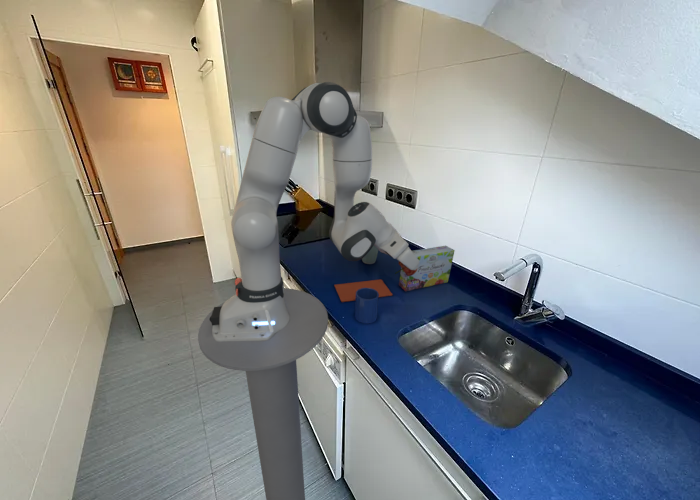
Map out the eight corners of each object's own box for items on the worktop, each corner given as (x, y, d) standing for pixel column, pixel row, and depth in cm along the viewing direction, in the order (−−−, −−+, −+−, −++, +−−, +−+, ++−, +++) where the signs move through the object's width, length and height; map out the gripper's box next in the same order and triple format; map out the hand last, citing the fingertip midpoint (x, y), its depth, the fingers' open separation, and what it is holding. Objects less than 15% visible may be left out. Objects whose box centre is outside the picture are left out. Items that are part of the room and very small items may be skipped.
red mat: (341, 302, 103) (341, 301, 103) (334, 285, 113) (334, 284, 113) (392, 295, 108) (392, 294, 108) (381, 280, 119) (381, 279, 118)
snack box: (406, 292, 110) (410, 257, 104) (398, 285, 115) (402, 251, 109) (448, 282, 118) (455, 249, 112) (439, 276, 123) (445, 244, 117)
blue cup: (358, 325, 91) (359, 301, 88) (352, 311, 98) (353, 289, 94) (380, 321, 93) (382, 298, 90) (372, 308, 100) (374, 286, 96)
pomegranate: (400, 285, 100) (425, 271, 97) (389, 268, 98) (414, 253, 96) (399, 277, 107) (423, 264, 104) (389, 261, 106) (413, 247, 103)
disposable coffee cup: (363, 254, 141) (365, 226, 135) (384, 259, 137) (386, 230, 131) (354, 263, 133) (355, 232, 126) (375, 268, 128) (377, 237, 122)
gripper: (367, 235, 103) (389, 257, 110) (394, 258, 85) (418, 282, 92) (379, 222, 103) (400, 245, 110) (409, 243, 85) (431, 268, 92)
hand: (409, 262), depth 101 cm, fingers closed on pomegranate, 7 cm apart
